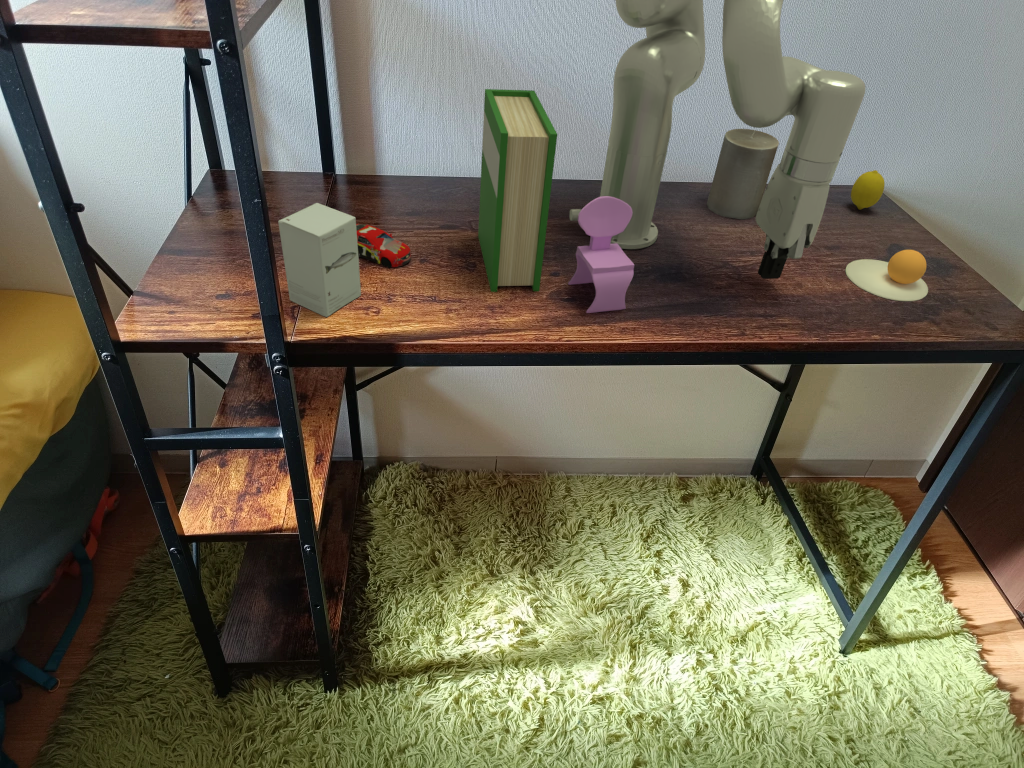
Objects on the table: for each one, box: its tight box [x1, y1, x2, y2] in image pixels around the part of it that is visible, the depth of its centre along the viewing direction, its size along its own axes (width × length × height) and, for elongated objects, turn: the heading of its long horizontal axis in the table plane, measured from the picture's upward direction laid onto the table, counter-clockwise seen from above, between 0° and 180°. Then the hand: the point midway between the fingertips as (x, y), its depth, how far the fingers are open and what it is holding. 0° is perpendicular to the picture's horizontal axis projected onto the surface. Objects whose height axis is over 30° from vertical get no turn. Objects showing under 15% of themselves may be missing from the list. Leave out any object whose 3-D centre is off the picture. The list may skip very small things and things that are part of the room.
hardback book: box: [477, 88, 558, 293], centre depth 104 cm, size 18×7×24 cm, turn 9°
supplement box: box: [277, 202, 362, 318], centre depth 96 cm, size 7×7×13 cm
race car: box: [356, 223, 412, 269], centre depth 110 cm, size 13×5×4 cm, turn 60°
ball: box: [887, 249, 927, 284], centre depth 114 cm, size 6×6×6 cm
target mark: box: [845, 258, 929, 302], centre depth 116 cm, size 13×13×1 cm
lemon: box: [850, 169, 886, 211], centre depth 135 cm, size 6×6×8 cm
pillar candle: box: [706, 128, 780, 220], centre depth 129 cm, size 10×10×15 cm
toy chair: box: [567, 196, 635, 314], centre depth 101 cm, size 8×9×15 cm
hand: (768, 275), depth 111 cm, fingers closed
